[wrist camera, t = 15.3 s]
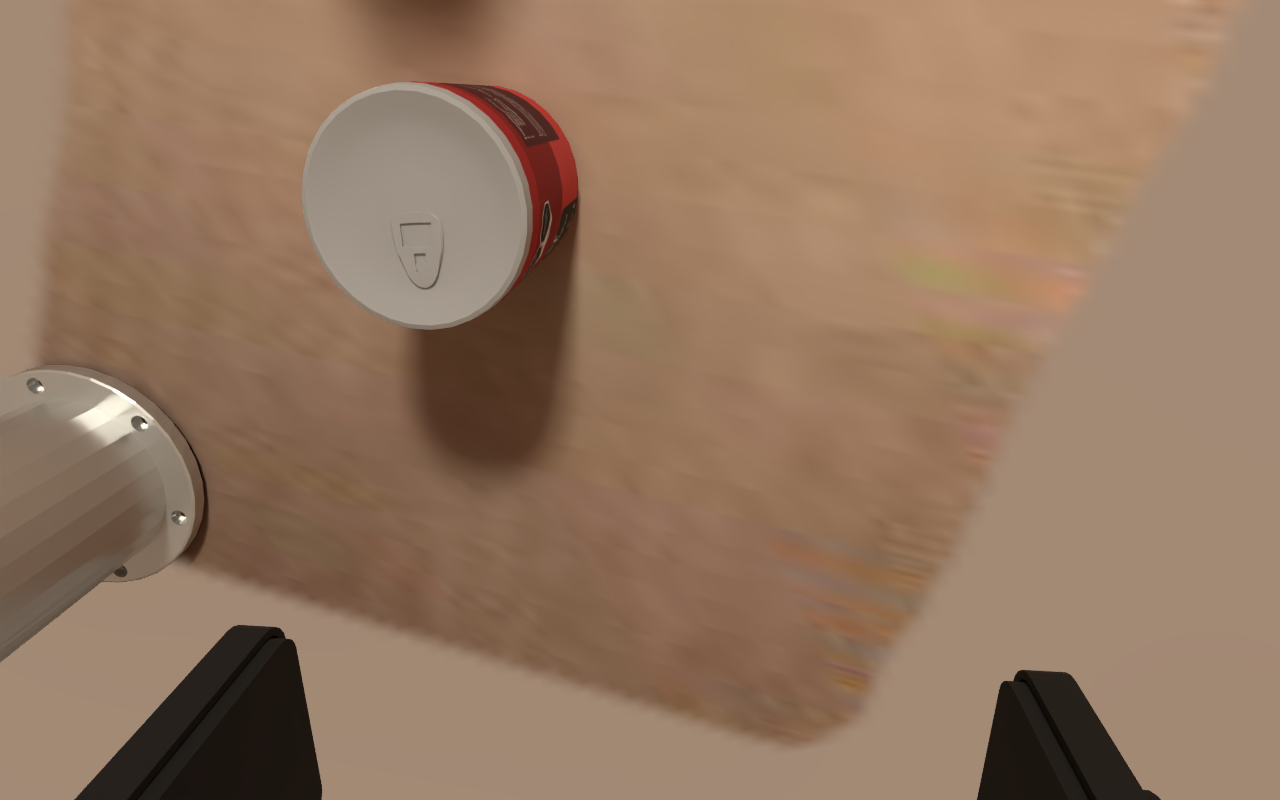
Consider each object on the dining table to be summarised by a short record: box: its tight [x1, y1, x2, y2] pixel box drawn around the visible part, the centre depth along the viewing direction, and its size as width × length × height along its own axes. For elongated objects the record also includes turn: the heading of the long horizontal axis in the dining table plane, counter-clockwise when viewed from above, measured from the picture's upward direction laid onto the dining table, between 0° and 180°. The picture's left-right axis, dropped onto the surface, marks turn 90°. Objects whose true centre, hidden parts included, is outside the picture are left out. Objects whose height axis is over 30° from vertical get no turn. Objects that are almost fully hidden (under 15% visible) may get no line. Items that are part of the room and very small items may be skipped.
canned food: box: [302, 82, 578, 330], centre depth 31 cm, size 8×8×11 cm
